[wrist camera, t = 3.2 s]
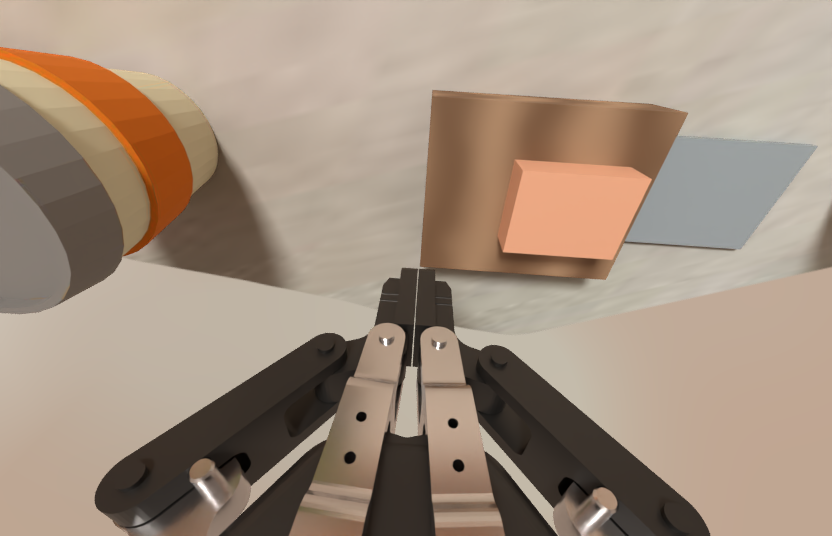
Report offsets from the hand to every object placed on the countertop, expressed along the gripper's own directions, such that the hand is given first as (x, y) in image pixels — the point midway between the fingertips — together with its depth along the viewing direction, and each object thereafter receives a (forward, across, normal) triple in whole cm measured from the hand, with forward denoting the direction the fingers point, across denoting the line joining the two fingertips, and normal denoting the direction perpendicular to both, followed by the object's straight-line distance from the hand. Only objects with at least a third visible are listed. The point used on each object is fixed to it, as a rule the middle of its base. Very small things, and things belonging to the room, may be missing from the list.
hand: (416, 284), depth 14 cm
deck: (+15, -8, 0) cm, 17 cm away
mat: (+15, -23, 0) cm, 27 cm away
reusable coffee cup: (+15, +22, -2) cm, 27 cm away
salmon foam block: (+11, -10, 0) cm, 15 cm away
